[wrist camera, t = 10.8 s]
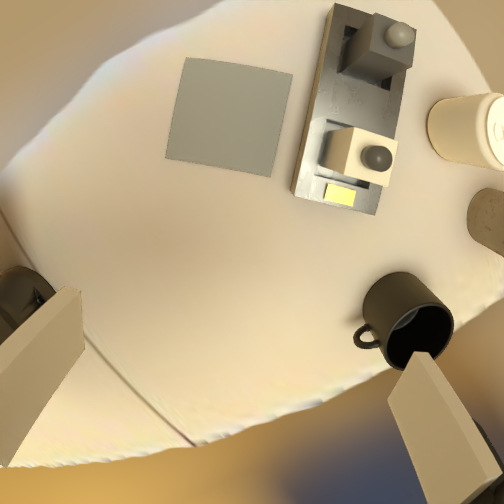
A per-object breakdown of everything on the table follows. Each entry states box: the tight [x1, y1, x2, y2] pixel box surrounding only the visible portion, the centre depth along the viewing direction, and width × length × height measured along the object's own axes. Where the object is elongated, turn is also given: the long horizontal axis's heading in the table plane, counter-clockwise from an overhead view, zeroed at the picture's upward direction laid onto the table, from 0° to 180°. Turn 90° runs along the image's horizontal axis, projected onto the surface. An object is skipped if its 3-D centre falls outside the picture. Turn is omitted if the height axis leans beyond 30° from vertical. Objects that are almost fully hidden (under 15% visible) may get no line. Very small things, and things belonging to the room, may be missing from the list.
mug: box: [353, 273, 454, 371], centre depth 36 cm, size 9×12×9 cm
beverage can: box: [428, 93, 504, 171], centre depth 27 cm, size 8×8×12 cm
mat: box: [165, 57, 292, 177], centre depth 33 cm, size 12×12×1 cm
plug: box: [320, 127, 398, 187], centre depth 27 cm, size 4×4×12 cm
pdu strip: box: [290, 3, 406, 216], centre depth 30 cm, size 22×9×5 cm, turn 168°
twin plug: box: [340, 13, 416, 84], centre depth 24 cm, size 4×4×12 cm
